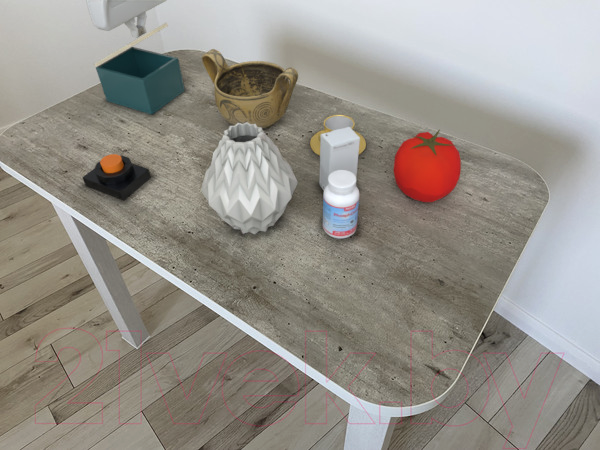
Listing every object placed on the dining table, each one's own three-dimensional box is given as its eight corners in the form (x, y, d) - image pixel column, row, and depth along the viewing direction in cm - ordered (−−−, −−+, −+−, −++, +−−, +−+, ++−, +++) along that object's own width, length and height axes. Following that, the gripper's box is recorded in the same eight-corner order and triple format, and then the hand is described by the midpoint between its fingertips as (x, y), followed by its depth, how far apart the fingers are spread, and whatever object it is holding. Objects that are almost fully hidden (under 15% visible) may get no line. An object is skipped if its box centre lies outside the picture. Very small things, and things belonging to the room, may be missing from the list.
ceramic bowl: (194, 128, 110) (181, 66, 99) (234, 94, 121) (227, 34, 110) (279, 153, 102) (275, 88, 92) (314, 114, 113) (314, 53, 102)
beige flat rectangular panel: (168, 25, 111) (166, 22, 111) (130, 47, 103) (128, 43, 103) (132, 46, 121) (130, 43, 121) (95, 67, 113) (93, 64, 113)
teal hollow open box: (185, 90, 122) (178, 57, 116) (152, 114, 115) (143, 80, 108) (140, 78, 128) (132, 46, 121) (106, 101, 120) (95, 67, 114)
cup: (343, 123, 110) (344, 102, 106) (377, 148, 103) (379, 126, 99) (299, 140, 105) (298, 119, 102) (331, 168, 98) (332, 146, 94)
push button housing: (85, 186, 96) (78, 170, 93) (114, 164, 101) (108, 148, 98) (123, 201, 92) (117, 184, 90) (151, 177, 97) (146, 161, 95)
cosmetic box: (328, 198, 92) (330, 146, 83) (319, 185, 94) (319, 133, 86) (356, 189, 93) (360, 137, 85) (346, 176, 96) (349, 125, 88)
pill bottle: (335, 244, 83) (337, 195, 75) (316, 224, 87) (316, 175, 79) (363, 231, 85) (368, 181, 77) (343, 211, 89) (346, 162, 81)
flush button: (98, 170, 94) (95, 163, 92) (113, 159, 96) (110, 152, 95) (113, 176, 92) (111, 168, 91) (128, 164, 95) (125, 157, 93)
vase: (233, 182, 96) (220, 99, 83) (310, 201, 91) (310, 115, 78) (191, 237, 85) (169, 151, 72) (277, 262, 80) (269, 174, 67)
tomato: (447, 169, 97) (459, 120, 89) (462, 215, 87) (476, 164, 79) (386, 170, 97) (392, 120, 89) (394, 215, 88) (402, 165, 80)
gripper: (144, -47, 107) (158, 16, 116) (73, -18, 94) (96, 50, 104) (166, -44, 105) (179, 20, 114) (97, -14, 92) (118, 56, 102)
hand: (139, 35), depth 109 cm, fingers closed
